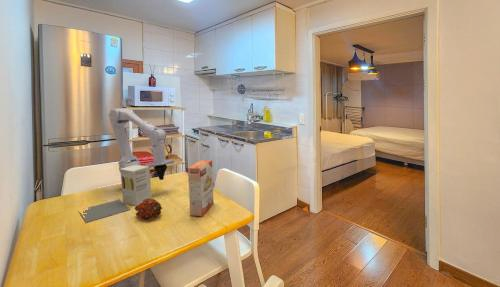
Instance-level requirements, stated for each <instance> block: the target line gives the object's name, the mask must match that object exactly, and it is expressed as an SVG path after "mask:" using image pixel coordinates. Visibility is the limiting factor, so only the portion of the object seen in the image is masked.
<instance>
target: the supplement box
mask: <svg viewBox="0 0 500 287" xmlns="http://www.w3.org/2000/svg"><path fill="white" fill-rule="evenodd" d="M119 173H120V181H121V190H122V200H123V201H122V202H123V203H124V204H127V205H131V206H135V207H136V206H137V205H139V204H140V203H142V202H143V201H144V199H153V196H152V195H153V194H152V186H151V185H152V184H151V172H150V168H149V166H145V165H132V166H129V167H125V168H122V169H120V171H119Z"/></svg>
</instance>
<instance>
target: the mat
mask: <svg viewBox="0 0 500 287" xmlns="http://www.w3.org/2000/svg"><path fill="white" fill-rule="evenodd" d="M87 208H88V210H85V212H84V211H83V213H87V214H83V215H84V216H85V218H84V217H83V218H82V219H83V221H84V222H85V224H87V223H91V222H95V221H98V220H101V219H104V218H108V217H111V216H115V215H118V214H121V213H124V212H129V211H131V208H129V207H128V205H126V203H124V202H123V201H121V200H120V199H116V200H112V201H109V202H108V201H107V202H104V203H100V204H98V205H92V206H90V207H87ZM89 208H90V209H89ZM83 215H82V216H83ZM82 216H81V217H82Z"/></svg>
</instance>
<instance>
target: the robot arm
mask: <svg viewBox="0 0 500 287" xmlns="http://www.w3.org/2000/svg"><path fill="white" fill-rule="evenodd" d="M108 117H109V120H110V124H111V127H112V130H113V134H114V137H115V140H116V144H117V147H118V149H119V153H120V157H121V158H120V159H119V161H118V170H119V172H120V169H122V168H125V167H129V166H132V165H141V163H140V160H139V159H138V157H137V156H136V155H134V154H133V152H132V148H131V146H130V142H129V139H128V136H127V132H126V129H125V126H126V125H127V124H128V123H129V122H131V123H132V124H134V125H135V126H137V127H139V131H141V132H143V133H144V134H145V135H146V136H148V138H149V141H150V143H151V146H152V155H153V158H152V159H153V161H151V162H149V163H145V164H144V166H149V169H150V168H153V169H154V171H155V172H156V174H157V176H158V179H159V180H160V181H163V180H164V179H165V173H166V171H167V169H168V165H170V164H175V159H174V158H170V159H166V158H167V157H166V149H165V148H166V147H165V140H166V139H167V132H166V130H164V128H158V126H155V125H153V124H152V123H151V122H152V121H148V120H145V121H144V120H143V119H141V118H140V117H139V115H137V114H135V112H134V110H132V109H131V108H130V107H126V108H125V107H124V108H121V107H120V108H111V110H110V112H109V113H108Z"/></svg>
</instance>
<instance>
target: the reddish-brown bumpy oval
mask: <svg viewBox="0 0 500 287" xmlns="http://www.w3.org/2000/svg"><path fill="white" fill-rule="evenodd" d="M162 209H163V207H162V204H161V203H160V202H159V201H157V200H156V199H154V198H152V199H144V201H143V202H142V203H140V204H139V205H137V206H135V207H134V211H136V212H135V215H136V217H141V216H142V218H143V220H146V219H148V218H149V219H154V218H156V216H160V215H161V214H162V211H161V210H162Z"/></svg>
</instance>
